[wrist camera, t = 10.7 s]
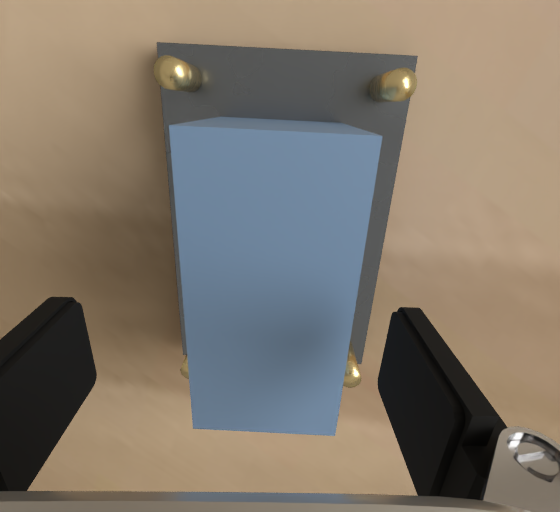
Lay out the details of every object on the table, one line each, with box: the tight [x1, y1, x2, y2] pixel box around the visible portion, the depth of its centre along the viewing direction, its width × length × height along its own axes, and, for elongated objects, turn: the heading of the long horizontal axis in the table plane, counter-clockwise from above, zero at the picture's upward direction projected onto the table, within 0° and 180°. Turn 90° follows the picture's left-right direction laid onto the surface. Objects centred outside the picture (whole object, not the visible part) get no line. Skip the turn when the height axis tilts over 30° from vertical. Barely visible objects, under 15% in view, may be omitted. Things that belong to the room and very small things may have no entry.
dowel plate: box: [154, 42, 418, 388], centre depth 18 cm, size 12×18×4 cm, turn 177°
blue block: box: [169, 117, 382, 436], centre depth 16 cm, size 12×6×8 cm, turn 177°
